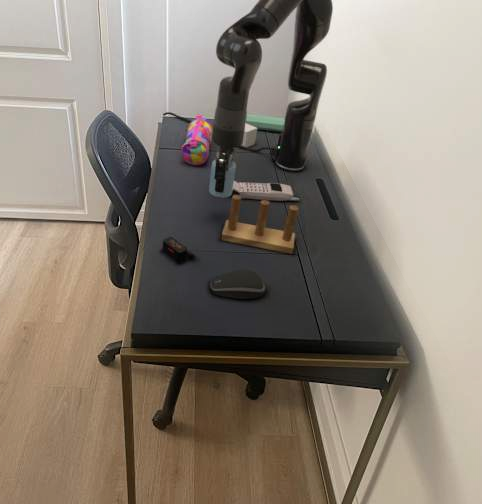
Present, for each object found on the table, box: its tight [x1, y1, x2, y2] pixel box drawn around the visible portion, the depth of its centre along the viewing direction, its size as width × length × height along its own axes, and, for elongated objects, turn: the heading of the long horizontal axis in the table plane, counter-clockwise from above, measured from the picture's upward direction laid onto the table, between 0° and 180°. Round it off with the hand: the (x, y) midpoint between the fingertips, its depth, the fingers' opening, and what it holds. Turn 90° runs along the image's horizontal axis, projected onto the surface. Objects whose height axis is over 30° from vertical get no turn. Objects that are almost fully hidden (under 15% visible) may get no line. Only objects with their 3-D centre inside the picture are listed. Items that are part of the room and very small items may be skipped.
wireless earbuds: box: [162, 236, 196, 263], centre depth 116 cm, size 5×7×3 cm, turn 44°
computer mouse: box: [209, 268, 266, 300], centre depth 108 cm, size 7×12×4 cm, turn 94°
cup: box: [208, 158, 237, 199], centre depth 126 cm, size 6×6×8 cm
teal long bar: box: [246, 113, 285, 133], centre depth 185 cm, size 6×6×25 cm
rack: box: [220, 194, 299, 255], centre depth 123 cm, size 18×7×11 cm, turn 79°
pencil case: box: [180, 114, 213, 166], centre depth 161 cm, size 22×9×9 cm, turn 178°
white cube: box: [241, 124, 258, 148], centre depth 172 cm, size 6×6×6 cm
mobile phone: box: [233, 179, 300, 202], centre depth 143 cm, size 6×6×25 cm
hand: (221, 185), depth 127 cm, fingers closed on cup, 6 cm apart
